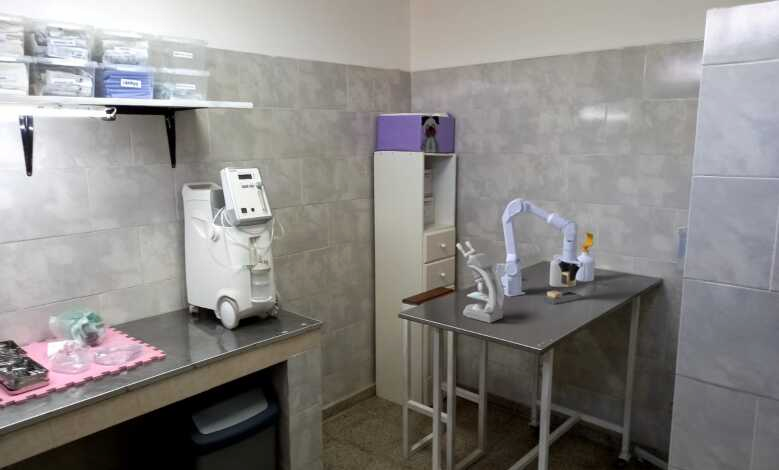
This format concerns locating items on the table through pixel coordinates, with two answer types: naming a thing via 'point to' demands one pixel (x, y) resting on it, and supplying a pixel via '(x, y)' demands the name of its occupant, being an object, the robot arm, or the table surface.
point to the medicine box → (501, 270)
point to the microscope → (492, 301)
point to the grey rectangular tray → (563, 297)
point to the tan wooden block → (567, 280)
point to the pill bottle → (555, 273)
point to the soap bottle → (586, 262)
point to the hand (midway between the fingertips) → (568, 279)
